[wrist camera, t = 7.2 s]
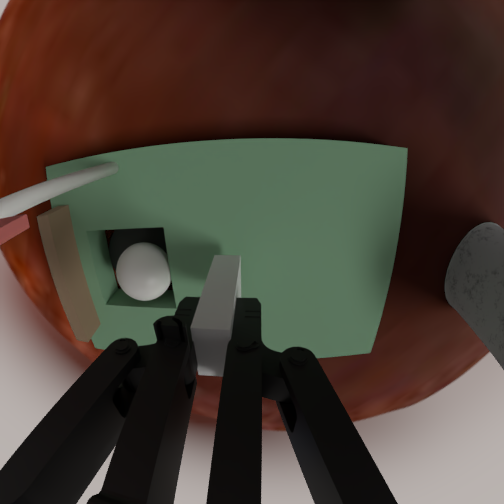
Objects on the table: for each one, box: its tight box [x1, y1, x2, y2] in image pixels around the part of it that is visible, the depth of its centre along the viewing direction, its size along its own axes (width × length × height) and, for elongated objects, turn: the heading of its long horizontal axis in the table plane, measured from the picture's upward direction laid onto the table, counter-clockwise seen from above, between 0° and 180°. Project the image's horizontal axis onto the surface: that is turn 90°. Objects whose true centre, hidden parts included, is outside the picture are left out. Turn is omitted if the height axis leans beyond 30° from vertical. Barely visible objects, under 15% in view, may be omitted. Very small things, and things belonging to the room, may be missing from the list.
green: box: [0, 138, 407, 358], centre depth 12 cm, size 16×24×16 cm, turn 91°
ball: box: [116, 242, 171, 301], centre depth 18 cm, size 4×4×4 cm
